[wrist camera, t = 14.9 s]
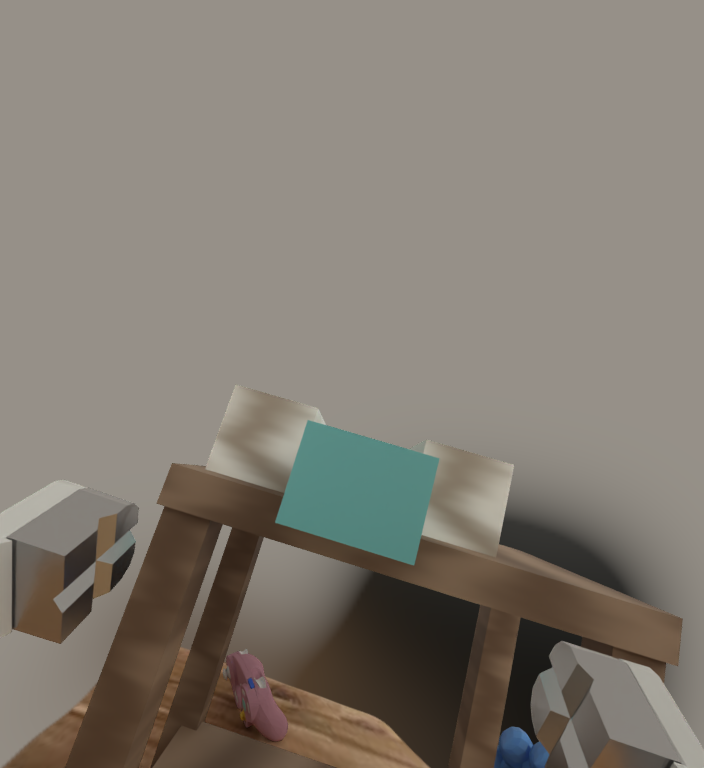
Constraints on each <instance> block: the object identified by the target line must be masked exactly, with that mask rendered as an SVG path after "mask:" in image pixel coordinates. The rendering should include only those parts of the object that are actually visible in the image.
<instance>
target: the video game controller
mask: <svg viewBox="0 0 704 768" xmlns="http://www.w3.org/2000/svg"><path fill="white" fill-rule="evenodd" d="M226 659H227V660H226V662H227V668H226V670H225V668H224V669H223V677H224V678H225V679H226V680H227V677H228V678H229V679H230V682H231V685H232V689H233V694H234V698H235V702H236V705H237V707H238V709H239V708H241V713H240V719H241V720H242V721H244V724H245V726H246V728H248V727H250V726H252V725H254V726H255V727H256V729H257V730H258V731H259V732H260V733H261V734H262V735H263V736H264V737H266V738H267V739H269V740H271V741H281V740H282V739H283V738H284V737H285V735H286V733H287V729H288V723H287V719H286V717H285V715H284V714H283V713H282V711H281V710H280V709H279V707H278V706H277V704H276V703H275V701H274V699H273V696H272V693H271V690H270V687H269V684H268V682H267V680H266V678H265V675H264V669H263V665H262V663H261V661H259V659H258V658H256V657H255V656H253V655H251V654H249V653H248V650H247V649H245V650H244V651H243V652H241V651H237V652H235V653H233V654H230V655H228V656H227V658H226Z"/></svg>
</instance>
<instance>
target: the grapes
mask: <svg viewBox="0 0 704 768" xmlns="http://www.w3.org/2000/svg"><path fill="white" fill-rule="evenodd" d="M548 757H549V753H548V752H547V750H546V749H545V748H544V746H543V745H542V744H541V742H538V743H536V744H535V745H533V744H532V742H531V740H530V739H529V737H528V735H527V734H526V733H525V732H524V731H523V730H521V729H520V728H517V727H510V728H509V729H506V730H505V731H503V732H502V735H501V736H500V738H499V746H497V752H496V758H495V763H494V768H544V767H545V764H546V762H547V759H548Z"/></svg>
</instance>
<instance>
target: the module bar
mask: <svg viewBox="0 0 704 768" xmlns="http://www.w3.org/2000/svg"><path fill="white" fill-rule="evenodd" d="M439 459H440V458H437V457H433V456H430V455H426V454H423V453H420V452H416V451H413V450H409V449H406V448H402V447H399V446H395V445H392V444H388V443H385V442H382V441H378V440H375V439H372V438H368V437H365V436H361V435H358V434H354V433H351V432H347V431H344V430H341V429H337V428H334V427H330V426H326V425H324V424H320V423H317V422H313V421H310V420H307V424H306V427H305V430H304V433H303V436H302V439H301V442H300V446H299V449H298V452H297V455H296V458H295V461H294V464H293V468H292V471H291V474H290V477H289V480H288V483H287V486H286V490H285V493H284V496H283V499H282V502H281V505H280V508H279V512H278V515H277V518H276V521H275V523H278V524H281V525H285V526H288V527H291V528H294V529H297V530H301V531H304V532H307V533H310V534H314V535H317V536H320V537H323V538H327V539H330V540H333V541H336V542H340V543H343V544H346V545H349V546H352V547H356V548H359V549H362V550H365V551H369V552H372V553H375V554H378V555H382V556H385V557H388V558H391V559H395V560H398V561H401V562H404V563H407V564H411V565H414V564H415V560H416V556H417V552H418V547H419V543H420V539H421V535H422V531H423V526H424V522H425V518H426V514H427V510H428V505H429V501H430V497H431V493H432V489H433V484H434V480H435V476H436V472H437V468H438V463H439Z"/></svg>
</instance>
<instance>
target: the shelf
mask: <svg viewBox="0 0 704 768" xmlns="http://www.w3.org/2000/svg"><path fill="white" fill-rule="evenodd" d="M307 420H310V421H313V422H317V423H320V424H324V425H326V424H325V422H324V420H323V418H322V416H321V413H320V411H319V409H318V408H315V407H312V406H308V405H305V404H301V403H298V402H294V401H291V400H288V399H284V398H280V397H277V396H273V395H270V394H267V393H263V392H260V391H257V390H253V389H250V388H246V387H243V386H239V385H236V386H235V388H234V391H233V394H232V397H231V399H230V402H229V405H228V408H227V410H226V413H225V416H224V419H223V421H222V424H221V427H220V430H219V432H218V435H217V438H216V441H215V443H214V446H213V448H212V451H211V454H210V457H209V459H208V462H207V465H206V466H198V465H187V464H175V463H172V465H171V468H170V470H169V473H168V476H167V478H166V481H165V483H164V486H163V488H162V491H161V493H160V496H159V499H158V501H157V504H160V505H163V506H165V507H164V509H163V512H162V514H161V517H160V520H159V522H158V525H157V528H156V530H155V533H154V536H153V538H152V541H151V543H150V546H149V549H148V551H147V554H146V557H145V559H144V562H143V565H142V567H141V570H140V573H139V575H138V578H137V580H136V583H135V586H134V588H133V591H132V594H131V596H130V599H129V601H128V604H127V606H126V609H125V612H124V615H123V617H122V620H121V622H120V625H119V627H118V630H117V633H116V635H115V638H114V641H113V643H112V646H111V649H110V651H109V654H108V657H107V659H106V662H105V664H104V667H103V669H102V672H101V675H100V677H99V680H98V683H97V685H96V688H95V690H94V693H93V696H92V698H91V701H90V704H89V706H88V709H87V712H86V714H85V717H84V719H83V722H82V725H81V727H80V730H79V733H78V735H77V738H76V740H75V743H74V746H73V748H72V751H71V754H70V756H69V759H68V761H67V764H66V767H65V768H139V765H140V762H141V759H142V756H143V753H144V750H145V747H146V744H147V742H148V739H149V736H150V733H151V730H152V727H153V724H154V721H155V718H156V715H157V713H158V710H159V707H160V704H161V701H162V698H163V695H164V692H165V689H166V687H167V684H168V681H169V678H170V675H171V672H172V669H173V666H174V663H175V661H176V658H177V655H178V652H179V649H180V646H181V643H182V640H183V637H184V634H185V631H186V629H187V626H188V623H189V620H190V617H191V614H192V611H193V608H194V606H195V603H196V600H197V597H198V594H199V591H200V588H201V585H202V582H203V580H204V577H205V574H206V571H207V568H208V565H209V562H210V559H211V556H212V553H213V550H214V548H215V545H216V542H217V539H218V536H219V533H220V530H221V527H222V525H223V524H224V525H227V526H230V527H232V530H231V533H230V536H229V539H228V542H227V544H226V547H225V550H224V553H223V556H222V560H221V562H220V565H219V568H218V571H217V574H216V577H215V580H214V583H213V586H212V589H211V591H210V594H209V597H208V600H207V603H206V606H205V609H204V612H203V615H202V618H201V621H200V624H199V627H198V630H197V633H196V636H195V639H194V641H193V644H192V647H191V650H190V653H189V656H188V659H187V662H186V665H185V668H184V671H183V674H182V677H181V680H180V683H179V686H178V688H177V691H176V694H175V697H174V700H173V703H172V706H171V709H170V712H169V715H168V718H167V721H166V724H165V727H164V730H163V733H162V735H161V738H160V741H159V744H158V747H157V750H156V753H155V756H154V759H153V762H152V765H151V768H336V767H333V766H330V765H327V764H324V763H321V762H318V761H316V760H313V759H310V758H307V757H304V756H301V755H298V754H295V753H292V752H289V751H287V750H284V749H281V748H278V747H275V746H272V745H269V744H266V743H263V742H260V741H258V740H255V739H252V738H249V737H246V736H243V735H240V734H237V733H234V732H231V731H229V730H226V729H223V728H220V727H217V726H214V725H211V724H208V723H205V719H206V715H207V712H208V709H209V706H210V703H211V700H212V697H213V694H214V691H215V687H216V684H217V681H218V678H219V675H220V672H221V669H222V666H223V663H224V659H225V656H226V653H227V650H228V647H229V644H230V641H231V638H232V635H233V631H234V628H235V625H236V622H237V619H238V616H239V613H240V610H241V607H242V603H243V600H244V597H245V594H246V591H247V588H248V585H249V582H250V579H251V575H252V572H253V569H254V566H255V563H256V560H257V557H258V554H259V550H260V547H261V544H262V541H263V538H264V537H266V538H269V539H272V540H275V541H278V542H282V543H285V544H288V545H291V546H294V547H297V548H301V549H304V550H307V551H310V552H313V553H317V554H320V555H323V556H326V557H330V558H333V559H336V560H340V561H342V562H346V563H349V564H352V565H355V566H359V567H362V568H365V569H368V570H371V571H374V572H378V573H381V574H384V575H387V576H390V577H394V578H397V579H400V580H403V581H407V582H410V583H413V584H416V585H419V586H423V587H426V588H429V589H432V590H435V591H438V592H442V593H445V594H448V595H451V596H455V597H458V598H461V599H464V600H467V601H471V602H474V603H477V604H480V610H479V615H478V620H477V625H476V630H475V635H474V640H473V645H472V650H471V655H470V660H469V665H468V670H467V675H466V681H465V685H464V690H463V695H462V701H461V706H460V710H459V715H458V721H457V726H456V730H455V735H454V740H453V746H452V750H451V755H450V760H449V765H448V768H494V763H495V758H496V752H497V746H498V741H499V735H500V730H501V723H502V718H503V712H504V707H505V701H506V696H507V690H508V684H509V679H510V673H511V667H512V662H513V655H514V651H515V645H516V638H517V634H518V628H519V622H520V617H522V618H525V619H529V620H531V621H535V622H538V623H541V624H544V625H547V626H550V627H554V628H557V629H561V630H563V631H567V632H570V633H573V634H576V635H579V636H582V644H581V647H583V648H586V649H589V650H592V651H596V652H599V653H602V654H605V655H608V656H612V657H615V658H617V659H623V660H626V661H630V662H633V663H636V664H640V665H643V666H646V667H650V668H651V669H652V670H653V671H654V672H655V673H656V674H657V675H658V676H659V677H660V679H661V680H662V682H663V684H664V678H665V668H666V663H669V664H672V665H676V666H678V661H679V651H680V641H681V630H682V618H680V617H677V616H675V615H672V614H670V613H668V612H665V611H662V610H661V609H658V608H656V607H653V606H651V605H649V604H646V603H643V602H641V601H639V600H637V599H634V598H632V597H629V596H627V595H625V594H622V593H620V592H618V591H615V590H613V589H610V588H608V587H606V586H603V585H601V584H599V583H596V582H594V581H591V580H589V579H587V578H584V577H582V576H579V575H577V574H575V573H572V572H570V571H567V570H565V569H563V568H560V567H558V566H556V565H553V564H551V563H548V562H546V561H544V560H541V559H539V558H537V557H534V556H532V555H529V554H527V553H525V552H522V551H519V550H515V549H513V548H509V547H506V546H503V545H499V539H500V534H501V529H502V524H503V519H504V513H505V509H506V504H507V498H508V493H509V489H510V483H511V478H512V473H513V468H514V465H512V464H509V463H505V462H502V461H498V460H495V459H492V458H488V457H485V456H481V455H478V454H474V453H470V452H467V451H464V450H460V449H457V448H454V447H450V446H447V445H443V444H440V443H436V442H433V441H429V440H425V441H423V442H421V443H420V444H418V445H416V446H414V447H412V448H410V449H409V450H413V451H416V452H420V453H423V454H426V455H430V456H433V457H437V458H440V459H439V463H438V468H437V472H436V476H435V480H434V484H433V489H432V493H431V497H430V501H429V505H428V510H427V514H426V518H425V522H424V526H423V531H422V535H421V539H420V543H419V547H418V552H417V556H416V560H415V564H414V565H411V564H407V563H404V562H401V561H398V560H395V559H391V558H388V557H385V556H382V555H378V554H375V553H372V552H369V551H365V550H362V549H359V548H356V547H352V546H349V545H346V544H343V543H340V542H336V541H333V540H330V539H327V538H323V537H320V536H317V535H314V534H310V533H307V532H304V531H301V530H297V529H294V528H291V527H288V526H285V525H281V524H278V523H275V521H276V518H277V515H278V512H279V508H280V505H281V502H282V499H283V496H284V493H285V490H286V486H287V483H288V480H289V477H290V474H291V471H292V468H293V464H294V461H295V458H296V455H297V452H298V449H299V446H300V442H301V439H302V436H303V433H304V430H305V427H306V424H307Z"/></svg>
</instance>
